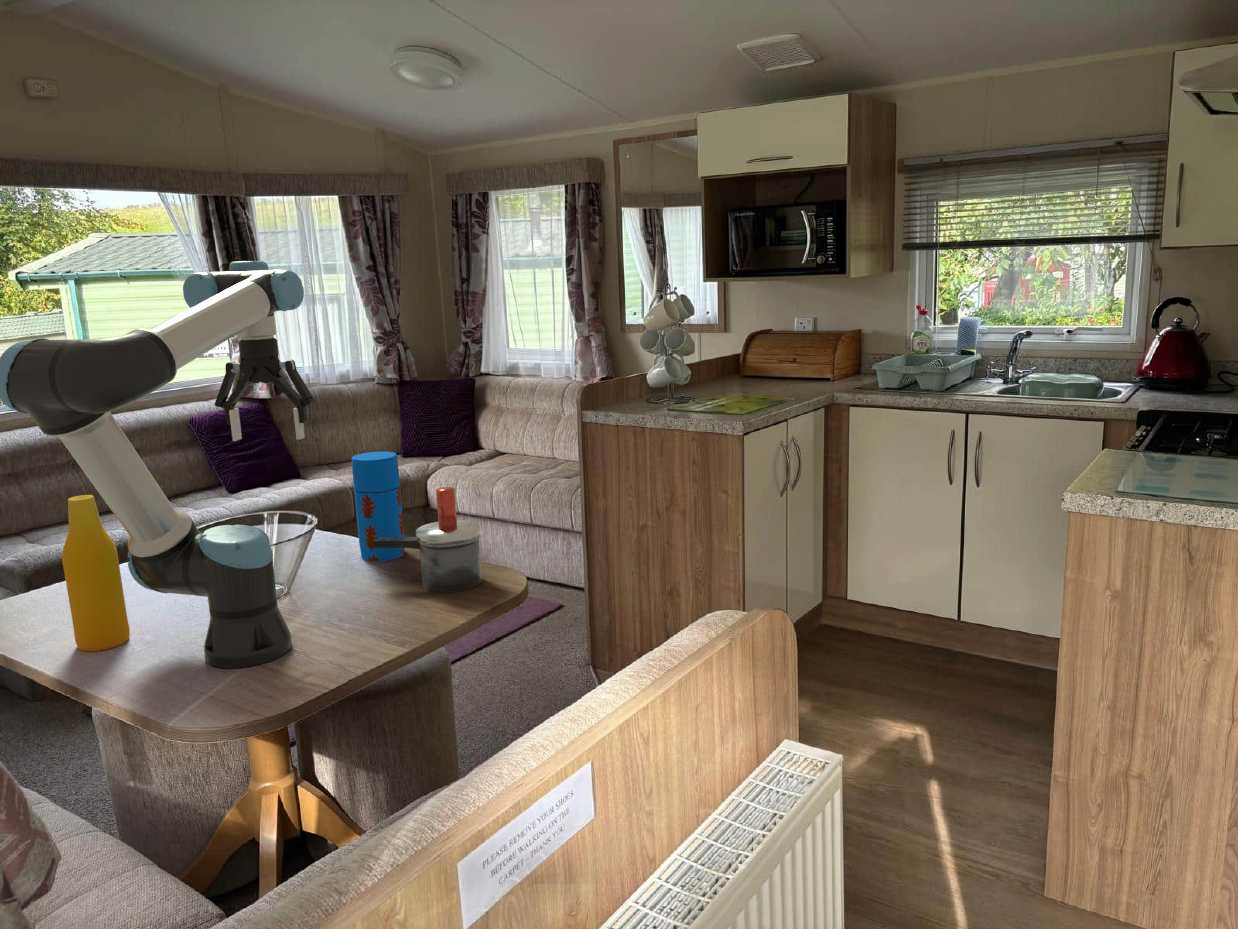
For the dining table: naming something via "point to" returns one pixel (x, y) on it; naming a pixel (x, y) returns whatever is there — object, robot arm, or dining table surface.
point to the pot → (443, 562)
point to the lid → (447, 523)
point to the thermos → (377, 503)
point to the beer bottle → (93, 579)
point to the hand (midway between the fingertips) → (269, 439)
